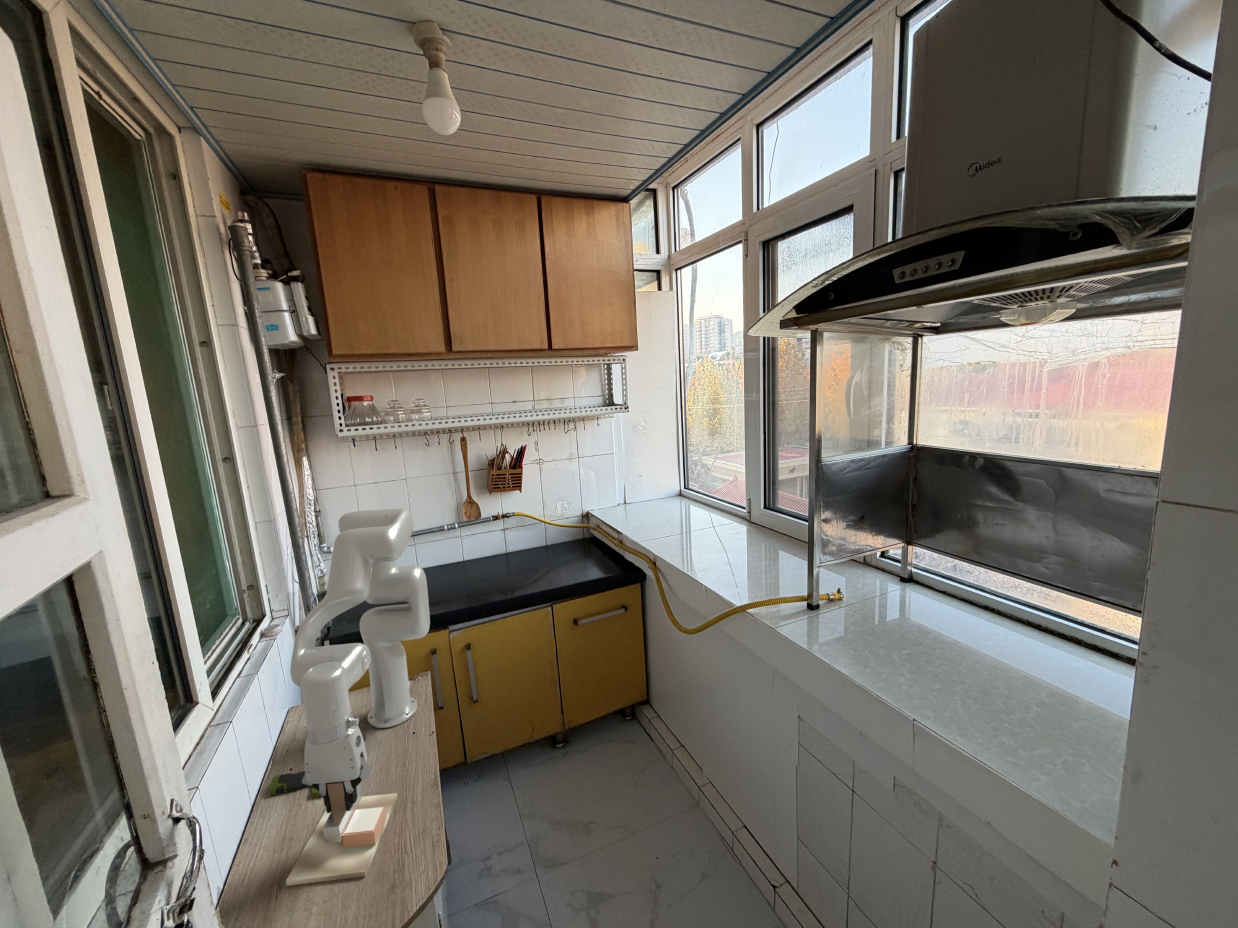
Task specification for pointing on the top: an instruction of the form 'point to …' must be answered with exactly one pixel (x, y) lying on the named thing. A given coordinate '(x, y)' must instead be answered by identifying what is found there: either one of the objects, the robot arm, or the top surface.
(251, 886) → the top surface
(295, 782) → the gun
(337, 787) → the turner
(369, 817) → the tile
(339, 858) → the board
